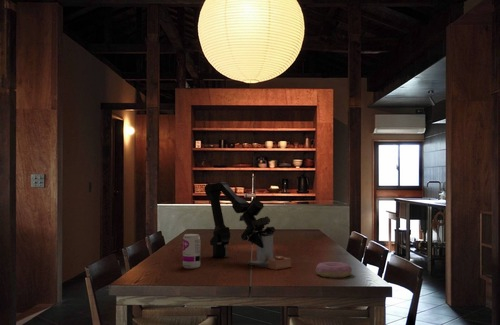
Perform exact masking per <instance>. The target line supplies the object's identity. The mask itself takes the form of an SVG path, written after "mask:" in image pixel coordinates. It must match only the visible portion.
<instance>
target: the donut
mask: <svg viewBox="0 0 500 325" xmlns="http://www.w3.org/2000/svg"><path fill="white" fill-rule="evenodd" d="M315 272H316V274H317V275H318V276H321V277H324V278H331V279H336V278H337V279H339V278H340V279H343V278H346V277H349V276H350V275H351V274H352V267H351V266H350V265H349V264H348V263H344V262H341V261H340V262H339V261H325V262H319V263H318V264H317V265H316V267H315Z"/></svg>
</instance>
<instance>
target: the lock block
mask: <svg viewBox="0 0 500 325" xmlns="http://www.w3.org/2000/svg"><path fill="white" fill-rule="evenodd" d="M258 237H259V239H260V241H261V243H262V245H263V248H261V247H259V246H257V245H256V260H257V261H262V262H268V259H274V234H272V235H271V234H266V233H259V235H258Z"/></svg>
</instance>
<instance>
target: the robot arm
mask: <svg viewBox="0 0 500 325" xmlns="http://www.w3.org/2000/svg"><path fill="white" fill-rule="evenodd" d="M204 192H205V196H206V197H207V199H208V200H209V201H210V207H211V211H212V217H213V221H214V222H213V223H214V229H213V232H212V233H213V234H212V235H213V236H212V237H211V239H210V240H209V243H210V246H212V256H211V257H212V258H225V257H227V256H228V248H227V245H228V246H229V242H230V239H231V232H230V227H228V226H227V225H225V221H224V215H223V210H222V206H221V201H220V200H221V199H220V198H221V196H222V194H223V196H225V197H226V198H227V199H228V201H229V202H230V203H231V205H232V209H233V210H234V213H236V214H241V215H240V216H239V222H244V223H245V225H246V227H245V229H244V231H243V232H242V233H241V234H240V238H241V240H242V241H244V242H245V241H247V242H251V243H252V244H254V245H255V246H256V247H257V246H259V247H261V248H263V245H262V243H261V241H260V239H259V237H258V235H259V233H266V234H271V235H274V233H275V232H276V229H275V226H267V225H269V224H270V222H271V219H270V217H269V216H265V217H260V218H258V219H257V218H256V216H258V215H259V214H261V211H262V210H263V209H264V207H265V206H264V203H263V202H262V201H260V200H258V199H257V198H252V199H251V201H250V202H249V201H247V200H246V199H244V198H241V197H240V196H239V195H238V194H237V193H236V192H235V191H234V190H233V189H232V188H231V187H230V186H229V184H228V182H226V181H219V182H213V183H212V182H210V183H209V182H207V183H206V184H205V186H204ZM265 226H266V227H265Z"/></svg>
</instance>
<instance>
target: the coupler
mask: <svg viewBox="0 0 500 325" xmlns="http://www.w3.org/2000/svg"><path fill="white" fill-rule="evenodd" d="M291 261H292V258H290V257H285V256H282V255H275V256H274V258H273V259H268V262H262V261H257V259H256V260H251V261H247V265H248V264H249V266H253V265H255V267H260V268H264V267H265V269H269V268H270V269H271V270H275V271H276V270H282V269H287V268H291V267H292V262H291Z"/></svg>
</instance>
